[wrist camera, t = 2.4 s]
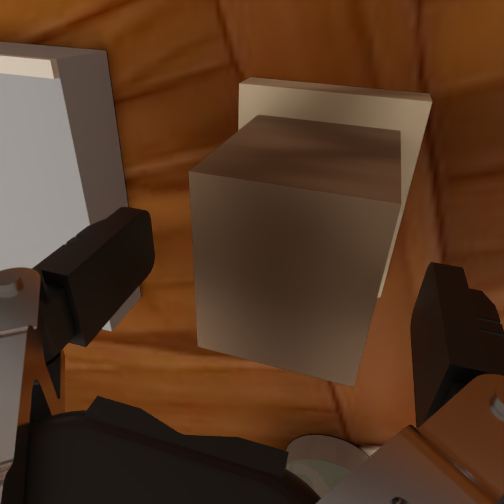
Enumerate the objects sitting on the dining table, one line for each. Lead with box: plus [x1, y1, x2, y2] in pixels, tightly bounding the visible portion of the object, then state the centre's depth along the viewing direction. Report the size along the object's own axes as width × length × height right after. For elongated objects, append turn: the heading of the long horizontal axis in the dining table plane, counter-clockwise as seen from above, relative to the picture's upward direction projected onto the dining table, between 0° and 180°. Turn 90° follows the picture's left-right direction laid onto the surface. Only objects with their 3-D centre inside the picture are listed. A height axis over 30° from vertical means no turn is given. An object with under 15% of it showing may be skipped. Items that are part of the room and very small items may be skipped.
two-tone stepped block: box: [189, 77, 432, 387], centre depth 14 cm, size 6×8×8 cm
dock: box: [0, 42, 141, 331], centre depth 20 cm, size 11×13×4 cm
